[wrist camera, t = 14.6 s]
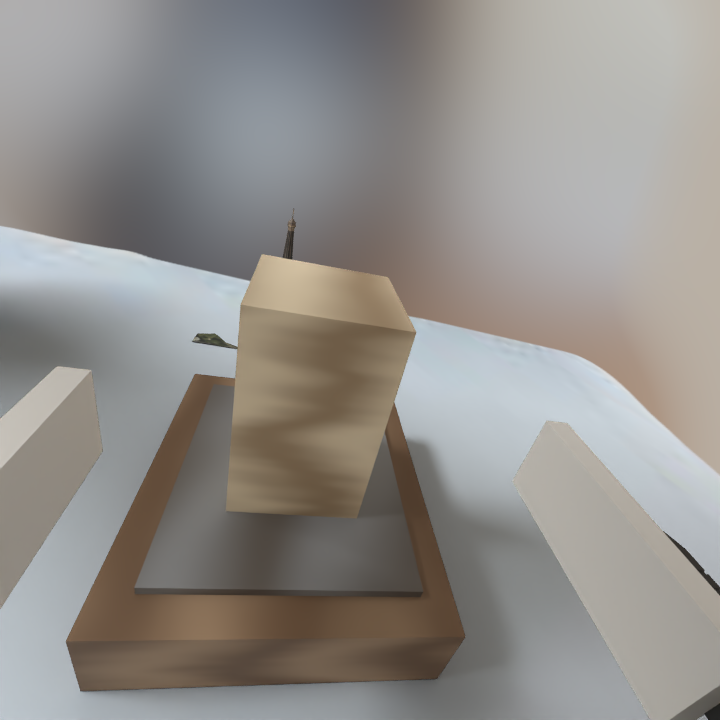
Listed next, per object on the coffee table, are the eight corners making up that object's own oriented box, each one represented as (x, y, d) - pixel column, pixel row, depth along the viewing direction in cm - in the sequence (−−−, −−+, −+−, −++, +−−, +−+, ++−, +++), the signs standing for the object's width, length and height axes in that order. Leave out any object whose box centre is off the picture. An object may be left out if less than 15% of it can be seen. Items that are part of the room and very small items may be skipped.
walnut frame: (80, 691, 14) (63, 634, 12) (194, 415, 28) (195, 368, 26) (437, 678, 17) (468, 631, 15) (381, 433, 31) (394, 393, 29)
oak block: (225, 511, 17) (240, 304, 12) (246, 424, 22) (262, 254, 18) (356, 518, 18) (416, 332, 14) (347, 434, 24) (388, 277, 19)
